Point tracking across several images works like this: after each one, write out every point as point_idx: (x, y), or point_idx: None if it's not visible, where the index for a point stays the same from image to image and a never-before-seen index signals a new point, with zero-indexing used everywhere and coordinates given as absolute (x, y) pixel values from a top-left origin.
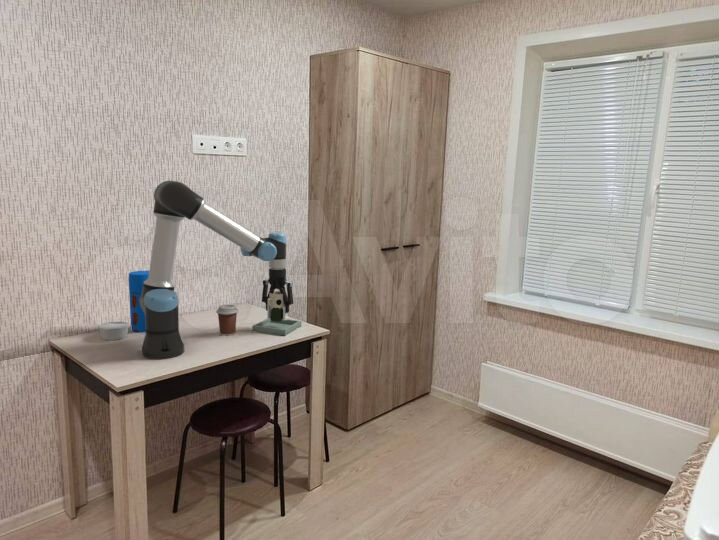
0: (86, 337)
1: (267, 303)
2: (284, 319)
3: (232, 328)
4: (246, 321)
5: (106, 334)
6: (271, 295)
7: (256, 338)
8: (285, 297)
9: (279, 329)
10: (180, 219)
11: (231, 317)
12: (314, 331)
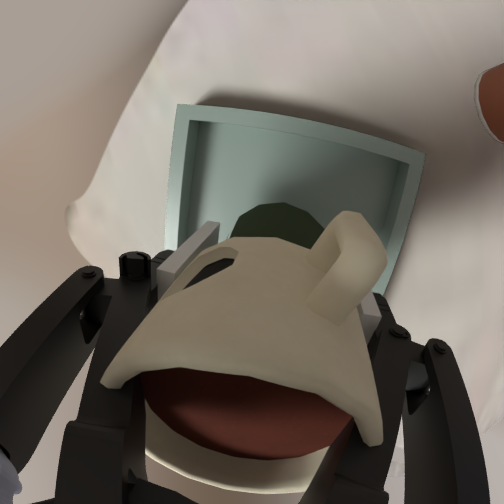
0: None
1: (383, 329)
2: (208, 223)
3: (494, 73)
4: (459, 323)
5: None
6: (324, 349)
7: (337, 23)
8: (103, 343)
9: (219, 107)
10: None
11: None
12: (95, 228)
